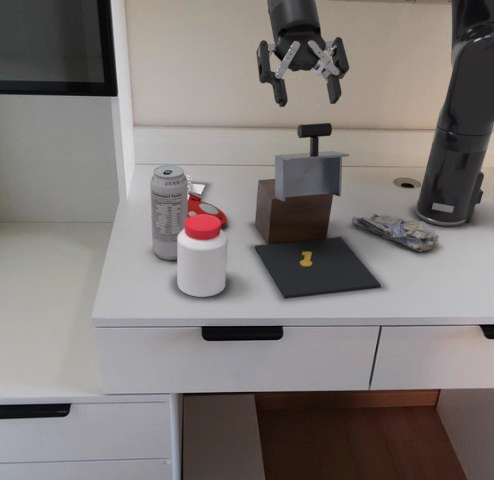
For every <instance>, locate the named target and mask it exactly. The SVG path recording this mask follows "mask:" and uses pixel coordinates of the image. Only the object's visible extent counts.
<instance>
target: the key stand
mask: <svg viewBox="0 0 494 480" xmlns="http://www.w3.org/2000/svg"><path fill="white" fill-rule="evenodd" d="M333 199H334V195H333V194H319V195H308V196H297V197H285V201H284V202H283V201H281V200H279V199H276V198H275V178H268V179H267V178H266V179H258V181H257V191H256V203H255V204H256V205H255V206H256V207H255V217H254V218H255V219H254V226H255V227H256V229H257V230H258V232H259V235H261V237H262V239H263V240H264V242H265V244H275V243H285V242H296V241H306V240H316V239H326V238H328V232H329V224H330V220H331V219H330V218H331V211H332V207H333V206H332V205H333Z"/></svg>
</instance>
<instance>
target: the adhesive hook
mask: <svg viewBox="0 0 494 480" xmlns="http://www.w3.org/2000/svg"><path fill="white" fill-rule="evenodd" d="M184 175H185V174H184ZM185 176H186V178H187V180H188V192H189V191H192V192H196V193H198V194H201V195H202V193H203V191H204V188H205V187H206V184H199V183H193V179H192V175H188V174H187V175H185ZM189 196H190V195H188V199H189Z"/></svg>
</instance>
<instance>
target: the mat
mask: <svg viewBox="0 0 494 480" xmlns="http://www.w3.org/2000/svg"><path fill="white" fill-rule="evenodd" d="M254 249H255V250H256V253H257V254H258V256H259V258H260V259H261V261H262V263H263V264H264V266H265V268H266V270H267V272H268V273H269V275H270V277H271V278H272V280H273V282H274V283H275V285H276V287H277V288H278V290H279V292H280V294H281V295H282V297H283V299H287V298H298V297H306V296H314V295H315V296H316V295H323V294H332V293H341V292H348V291H349V292H350V291H358V290H365V289H366V290H367V289H375V288H376V289H377V288H381V285H382V284H381V283H380V282H379V281H378V280H377V278H376V277H375V275H373V274H372V272H371V271H370V270H369V269H368V268H367V267H366V265H365V264H364V263H363V262H362V261H361V259H360V258H359V257H358V256H357V255H356V253H355V252H354V251H353V250H352V248H350V246H349V245H348V244H347V243H346V242H345V241H344V239H343V238H342V237H341V236H340V237H339V236H337V237H327V238H326V239H316V240H306V241H296V242H285V243H275V244H267V243H265V244H255V245H254ZM303 251H304V252H306V251H308V252H312V255H311V259H310V261H311V262H312V266H311V267H303V266H301V265H300V261H302V260H304V258H305V256H302V252H303Z"/></svg>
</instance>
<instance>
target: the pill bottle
mask: <svg viewBox="0 0 494 480" xmlns="http://www.w3.org/2000/svg"><path fill="white" fill-rule="evenodd" d="M184 226H185V228H184V229H183V230H182V231H181V232H180V233H179V234H178V236H177V259H176V273H177V274H176V283H177V287H178V289H179V290H180V291H181V292H183V293H184V294H186V295H189V296H192V297H196V298H197V297H198V298H208V297H212V296H216V295H218V294H221V292H223V290H224V289H225V287H226V282H227V281H226V280H227V265H228V264H227V261H228V260H227V259H228V241H229V239H228V234H227V233H226V232H225V231H224V230H222V228H221V221H220V220H219V219H218V218H217V217H215V216H212V215H208V214H197V215H192V216H190V217H188V218H187V219H186V220H185V222H184Z"/></svg>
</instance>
